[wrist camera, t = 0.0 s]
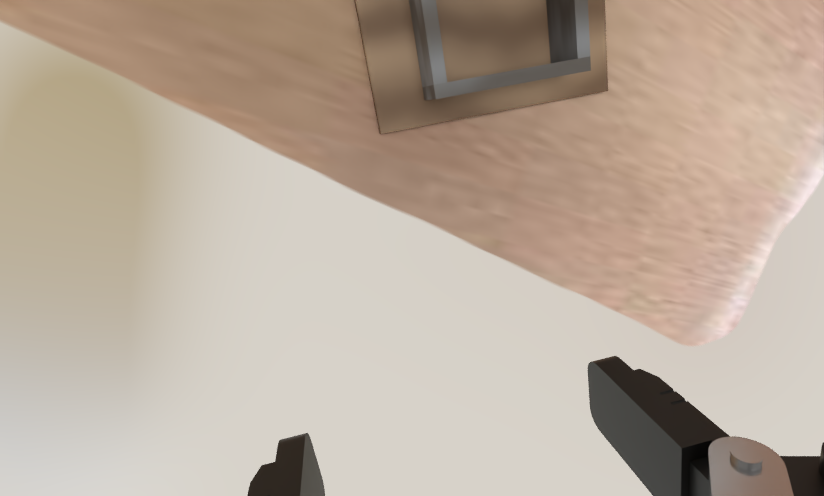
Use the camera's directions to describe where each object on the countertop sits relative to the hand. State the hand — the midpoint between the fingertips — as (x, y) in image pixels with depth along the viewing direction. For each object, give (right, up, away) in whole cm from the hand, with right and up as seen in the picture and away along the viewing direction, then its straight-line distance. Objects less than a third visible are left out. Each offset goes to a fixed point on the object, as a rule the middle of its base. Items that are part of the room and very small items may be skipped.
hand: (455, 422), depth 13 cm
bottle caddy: (+5, +23, +25) cm, 34 cm away
